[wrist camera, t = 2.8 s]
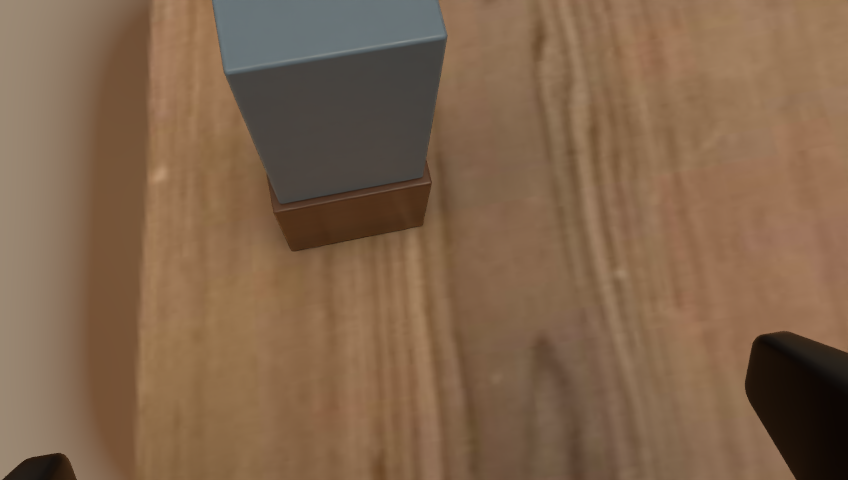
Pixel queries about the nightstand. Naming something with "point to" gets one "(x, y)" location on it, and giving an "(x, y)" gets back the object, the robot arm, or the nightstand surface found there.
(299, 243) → the base block
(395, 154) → the top block
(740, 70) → the nightstand surface
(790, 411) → the robot arm
